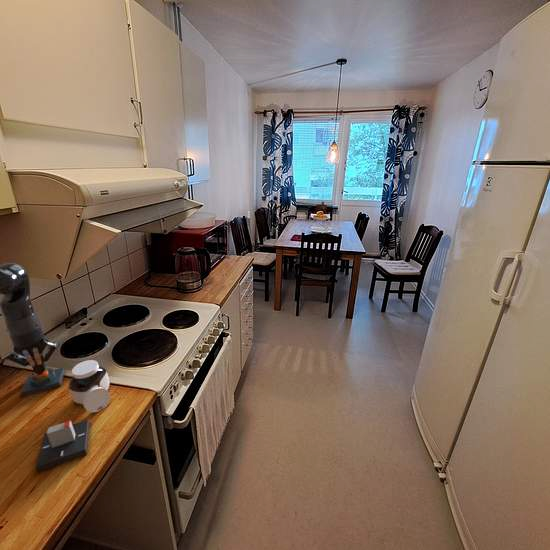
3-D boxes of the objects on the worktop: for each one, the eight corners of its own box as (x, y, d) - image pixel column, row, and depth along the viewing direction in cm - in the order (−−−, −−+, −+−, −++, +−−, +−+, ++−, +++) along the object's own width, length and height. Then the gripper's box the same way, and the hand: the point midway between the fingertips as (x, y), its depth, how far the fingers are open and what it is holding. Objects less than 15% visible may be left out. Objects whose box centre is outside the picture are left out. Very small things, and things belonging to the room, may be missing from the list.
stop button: (34, 382, 92) (32, 377, 91) (36, 375, 95) (35, 370, 94) (48, 378, 94) (46, 374, 93) (50, 371, 97) (48, 367, 96)
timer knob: (52, 448, 72) (46, 433, 70) (53, 441, 74) (47, 427, 72) (74, 440, 74) (69, 425, 72) (75, 434, 76) (70, 419, 74)
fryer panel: (39, 473, 69) (35, 466, 68) (47, 439, 77) (44, 432, 76) (87, 455, 73) (85, 448, 72) (90, 425, 81) (88, 418, 80)
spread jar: (94, 383, 96) (87, 355, 92) (124, 388, 94) (118, 360, 90) (64, 412, 85) (53, 381, 81) (97, 418, 84) (88, 387, 79)
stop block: (23, 397, 90) (19, 388, 89) (29, 381, 97) (25, 371, 95) (61, 387, 94) (58, 377, 93) (64, 372, 101) (61, 363, 99)
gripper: (53, 317, 93) (66, 360, 100) (0, 326, 87) (18, 371, 94) (48, 328, 87) (63, 373, 93) (-9, 339, 81) (11, 386, 88)
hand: (41, 372), depth 94 cm, fingers closed
